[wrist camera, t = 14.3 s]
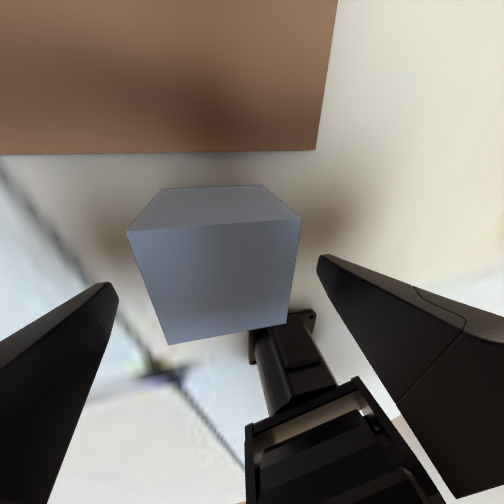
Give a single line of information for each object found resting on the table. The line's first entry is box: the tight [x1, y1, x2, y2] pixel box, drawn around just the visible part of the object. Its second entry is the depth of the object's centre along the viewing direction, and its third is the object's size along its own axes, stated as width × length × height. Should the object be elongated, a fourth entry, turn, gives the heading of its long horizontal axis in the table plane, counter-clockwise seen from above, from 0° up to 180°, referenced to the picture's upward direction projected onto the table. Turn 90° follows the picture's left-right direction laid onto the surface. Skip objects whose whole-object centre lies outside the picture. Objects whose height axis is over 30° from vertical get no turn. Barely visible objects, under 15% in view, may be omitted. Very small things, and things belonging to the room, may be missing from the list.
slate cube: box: [125, 185, 302, 345], centre depth 10 cm, size 6×6×6 cm
